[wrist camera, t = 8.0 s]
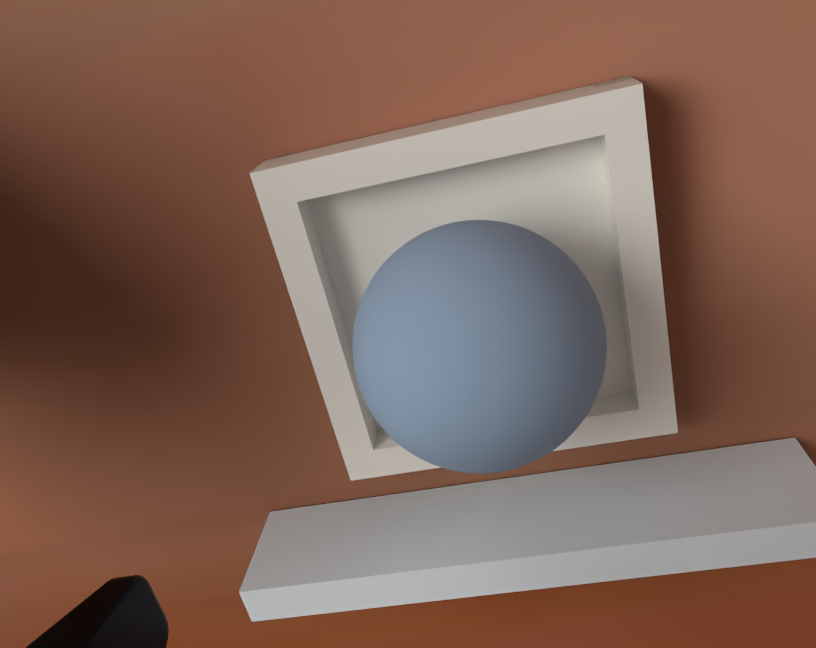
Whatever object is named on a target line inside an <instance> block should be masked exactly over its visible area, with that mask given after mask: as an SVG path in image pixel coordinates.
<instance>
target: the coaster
mask: <svg viewBox="0 0 816 648" xmlns="http://www.w3.org/2000/svg"><path fill="white" fill-rule="evenodd" d="M250 176H251V180H252V183H253V186H254V189H255V192H256V195H257V198H258V201H259V204H260V207H261V210H262V213H263V216H264V219H265V222H266V225H267V228H268V231H269V234H270V237H271V240H272V243H273V246H274V249H275V252H276V255H277V258H278V261H279V264H280V267H281V271H282V274H283V277H284V280H285V283H286V286H287V289H288V292H289V295H290V298H291V301H292V304H293V307H294V310H295V313H296V316H297V319H298V322H299V325H300V328H301V331H302V334H303V337H304V340H305V343H306V346H307V349H308V352H309V355H310V358H311V362H312V365H313V368H314V371H315V374H316V377H317V380H318V383H319V386H320V389H321V392H322V395H323V398H324V401H325V404H326V407H327V410H328V413H329V416H330V419H331V422H332V425H333V428H334V431H335V434H336V437H337V440H338V443H339V446H340V449H341V453H342V456H343V459H344V462H345V465H346V468H347V471H348V474H349V477H350V480H351V481H352V480H359V479H366V478H373V477H380V476H386V475H393V474H400V473H407V472H414V471H421V470H427V469H434V468H441V467H439V466H436V465H433V464H431V463H429V462H426V461H424V460H422V459H420V458H418V457H416V456H415V455H413V454H411V453H410V452H408V451H407V450H405V449H404V448H403V447H401V446H400V445H399V444H398V443H396V442H395V441H394V440H393V439H392V438H391V437H390V436H389V435H388V434H387V433H386V432H385V430H384V429H383V428H382V427H381V426H380V425H379V423H378V422H377V421H376V419H375V418H374V417H373V415H372V414H371V412H370V410H369V408H368V406H367V404H366V403H365V400H364V398H363V396H362V393H361V391H360V388H359V385H358V383H357V379H356V374H355V370H354V363H353V352H352V340H353V329H354V323H355V319H356V314H357V310H358V307H359V304H360V302H361V299H362V296H363V294H364V292H365V290H366V289H367V287H368V285H369V283H370V281H371V279H372V278H373V276H374V275H375V273H376V272H377V271H378V269H379V268H380V267H381V265H382V264H383V263H384V262H385V261H386V260H387V259H388V258H389V257H390V256H391V255H392V254H393V253H394V252H395V251H396V250H398V249H399V248H400V247H402V246H403V245H404V244H405V243H407V242H408V241H409V240H411V239H413V238H415V237H416V236H418V235H420V234H421V233H424V232H426V231H428V230H431V229H433V228H435V227H438V226H442V225H445V224H449V223H452V222H459V221H466V220H491V221H501V222H505V223H509V224H514V225H517V226H520V227H523V228H525V229H528V230H531V231H533V232H535V233H537V234H538V235H540V236H542V237H544V238H546V239H547V240H549V241H550V242H552V243H553V244H554V245H556V246H557V247H558V248H560V249H561V250H562V251H564V252H565V253H566V254H567V255H568V256H569V257H570V258H571V259H572V260H573V261H574V262H575V263H576V265H577V266H578V267H579V269H580V270H581V271H582V272H583V274H584V275H585V277H586V278H587V280H588V282H589V283H590V285H591V287H592V289H593V290H594V292H595V294H596V297H597V299H598V302H599V304H600V307H601V310H602V314H603V319H604V323H605V328H606V337H607V355H606V367H605V372H604V376H603V380H602V384H601V386H600V389H599V392H598V394H597V397H596V399H595V402H594V404H593V406H592V407H591V409H590V411H589V413H588V415H587V416H586V417H585V419H584V420H583V421H582V423H581V424H580V425H579V427H578V428H577V429H576V430H575V432H574V433H573V434H572V435H571V436H570V437H569V438H568V439H567V440H566V441H565V442H563V443H562V444H561V445H560V446H558V447H557V448H556V449H555V450H553V451H557V450H564V449H571V448H578V447H585V446H591V445H598V444H605V443H612V442H619V441H626V440H632V439H639V438H646V437H653V436H660V435H667V434H673V433H678V428H677V418H676V408H675V398H674V388H673V379H672V369H671V359H670V349H669V339H668V329H667V320H666V310H665V300H664V290H663V280H662V271H661V261H660V251H659V241H658V231H657V221H656V212H655V202H654V192H653V182H652V172H651V163H650V153H649V143H648V133H647V123H646V113H645V104H644V94H643V84H642V83H641V82H639V81H638V80H636V79H634V78H632V77H631V76H628V77H624V78H620V79H615V80H611V81H607V82H602V83H598V84H594V85H589V86H585V87H581V88H577V89H572V90H568V91H564V92H559V93H555V94H551V95H546V96H542V97H538V98H533V99H529V100H525V101H520V102H516V103H512V104H507V105H503V106H499V107H494V108H490V109H486V110H481V111H477V112H473V113H468V114H464V115H460V116H455V117H451V118H447V119H442V120H438V121H434V122H429V123H425V124H421V125H416V126H412V127H408V128H404V129H399V130H395V131H391V132H386V133H382V134H378V135H373V136H369V137H365V138H360V139H356V140H352V141H347V142H343V143H339V144H334V145H330V146H326V147H321V148H317V149H313V150H308V151H304V152H300V153H295V154H291V155H287V156H282V157H278V158H274V159H269V160H265V161H263V162H262V163H261V164H260V165H259V166H258V167H256V168H255V169H254V170H253V171H252V172H250Z"/></svg>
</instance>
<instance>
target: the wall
mask: <svg viewBox="0 0 816 648" xmlns="http://www.w3.org/2000/svg"><path fill="white" fill-rule="evenodd" d="M807 558H816V466H815V465H814V464H813V462H812V461H811V459H810V458H809V456H808V455H807V454H806V452H805V451H804V449H803V448H802V447H801V445H800V444H799V442H798V441H797V440H796V438H788V439H781V440H774V441H767V442H760V443H752V444H745V445H738V446H731V447H724V448H717V449H710V450H703V451H696V452H689V453H682V454H675V455H668V456H660V457H653V458H646V459H639V460H632V461H625V462H618V463H611V464H604V465H597V466H590V467H583V468H576V469H569V470H561V471H554V472H547V473H540V474H533V475H526V476H519V477H512V478H505V479H498V480H491V481H484V482H477V483H469V484H462V485H455V486H448V487H441V488H434V489H427V490H420V491H413V492H406V493H399V494H392V495H385V496H378V497H370V498H363V499H356V500H349V501H342V502H335V503H328V504H321V505H314V506H307V507H300V508H293V509H286V510H279V511H271V512H270V513H269V516H268V518H267V521H266V524H265V526H264V529H263V531H262V534H261V536H260V539H259V542H258V544H257V547H256V549H255V552H254V555H253V557H252V560H251V562H250V565H249V567H248V570H247V573H246V575H245V578H244V580H243V583H242V586H241V588H240V591H239V594H240V596H241V598H242V600H243V603H244V605H245V607H246V609H247V612H248V614H249V616H250V619H251V621H252V622H254V621H263V620H271V619H280V618H289V617H298V616H306V615H315V614H324V613H333V612H342V611H350V610H359V609H368V608H377V607H385V606H394V605H403V604H412V603H421V602H429V601H438V600H447V599H456V598H465V597H473V596H482V595H491V594H500V593H508V592H517V591H526V590H535V589H544V588H552V587H561V586H570V585H579V584H587V583H596V582H605V581H614V580H623V579H631V578H640V577H649V576H658V575H667V574H675V573H684V572H693V571H702V570H710V569H719V568H728V567H737V566H746V565H754V564H763V563H772V562H781V561H790V560H798V559H807Z"/></svg>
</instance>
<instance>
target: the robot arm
mask: <svg viewBox="0 0 816 648" xmlns="http://www.w3.org/2000/svg"><path fill="white" fill-rule="evenodd" d="M167 640H168V623H167V619H166V616H165V614H164V612H163V610H162V608H161V606H160V604H159V602H158V600H157V598H156V596H155V594H154V592H153V590H152V589H151V587H150V585H149V583H148V581H147V580H146V579H145V578H144V577H142V576H139V575H134V576H126V577H118V578H114V579H111V580H109V581H108V582H106V583H105V584H104V585H103V586H101V587H100V588H99V589H98V590H96V591H95V592H94V593H93V594H91V595H90V596H89V597H88V598H87V599H85V600H84V601H83V602H82V603H80V604H79V605H78V606H77V607H75V608H74V609H73V610H72V611H70V612H69V613H68V614H67V615H65V616H64V617H63V618H62V619H61V620H59V621H58V622H57V623H56V624H54V625H53V626H52V627H51V628H49V629H48V630H47V631H46V632H44V633H43V634H42V635H41V636H39V637H38V638H37V639H36V640H34V641H33V642H32V643H31V644H30V645H28V646H27V647H26V648H166V645H167Z"/></svg>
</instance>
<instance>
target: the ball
mask: <svg viewBox="0 0 816 648" xmlns="http://www.w3.org/2000/svg"><path fill="white" fill-rule="evenodd" d="M352 352H353V363H354V370H355V374H356V379H357V383H358V385H359V388H360V391H361V393H362V396H363V398H364V400H365V403H366V404H367V406H368V408H369V410H370V412H371V414H372V415H373V417H374V418H375V419H376V421H377V422H378V423H379V425H380V426H381V427H382V428H383V429H384V430H385V432H386V433H387V434H388V435H389V436H390V437H391V438H392V439H393V440H394V441H395V442H396V443H398V444H399V445H400V446H401V447H403V448H404V449H405V450H407V451H408V452H410V453H411V454H413V455H415V456H416V457H418V458H420V459H422V460H424V461H426V462H429V463H431V464H433V465H436V466H439V467H442V468H445V469H448V470H453V471H457V472H465V473H484V474H486V473H496V472H502V471H507V470H512V469H515V468H518V467H521V466H524V465H527V464H529V463H531V462H533V461H536V460H538V459H540V458H542V457H543V456H545V455H547V454H548V453H550V452H552V451H553V450H555V449H556V448H557V447H558V446H560V445H561V444H562V443H563V442H565V441H566V440H567V439H568V438H569V437H570V436H571V435H572V434H573V433H574V432H575V430H576V429H577V428H578V427H579V425H580V424H581V423H582V421H583V420H584V419H585V417H586V416H587V415H588V413H589V411H590V409H591V407H592V406H593V404H594V402H595V399H596V397H597V394H598V392H599V389H600V386H601V384H602V380H603V376H604V372H605V367H606V355H607V337H606V328H605V323H604V319H603V314H602V310H601V307H600V304H599V302H598V299H597V297H596V294H595V292H594V290H593V289H592V287H591V285H590V283H589V282H588V280H587V278H586V277H585V275H584V274H583V272H582V271H581V270H580V269H579V267H578V266H577V265H576V263H575V262H574V261H573V260H572V259H571V258H570V257H569V256H568V255H567V254H566V253H565V252H564V251H562V250H561V249H560V248H558V247H557V246H556V245H554V244H553V243H552V242H550V241H549V240H547V239H546V238H544V237H542V236H540V235H538V234H537V233H535V232H533V231H531V230H528V229H525V228H523V227H520V226H517V225H514V224H509V223H505V222H501V221H491V220H466V221H459V222H452V223H449V224H445V225H442V226H438V227H435V228H433V229H431V230H428V231H426V232H424V233H421V234H420V235H418V236H416V237H415V238H413V239H411V240H409V241H408V242H407V243H405V244H404V245H403V246H402V247H400V248H399V249H398V250H396V251H395V252H394V253H393V254H392V255H391V256H390V257H389V258H388V259H387V260H386V261H385V262H384V263H383V264H382V265H381V267H380V268H379V269H378V271H377V272H376V273H375V275H374V276H373V278H372V279H371V281H370V283H369V285H368V287H367V289H366V290H365V292H364V294H363V296H362V299H361V302H360V304H359V307H358V310H357V314H356V319H355V323H354V329H353V340H352Z"/></svg>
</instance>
